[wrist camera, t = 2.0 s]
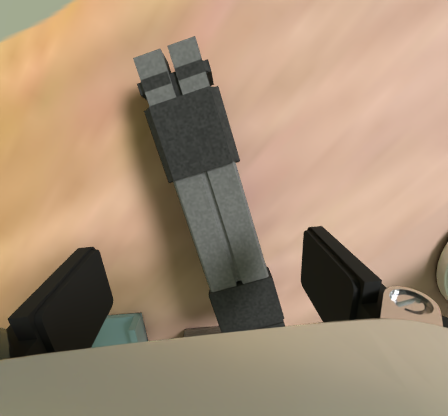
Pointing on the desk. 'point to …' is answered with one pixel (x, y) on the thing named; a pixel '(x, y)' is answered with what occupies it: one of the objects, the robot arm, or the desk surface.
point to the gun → (208, 184)
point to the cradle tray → (121, 330)
